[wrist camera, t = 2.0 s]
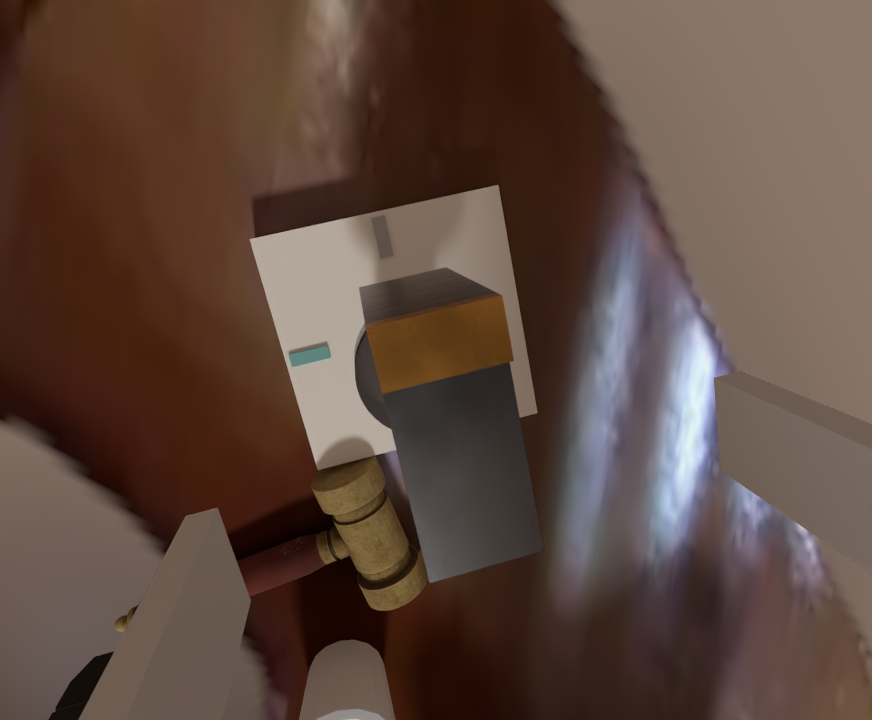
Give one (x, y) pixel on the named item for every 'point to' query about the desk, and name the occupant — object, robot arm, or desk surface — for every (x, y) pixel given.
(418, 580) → the gavel
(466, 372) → the grey block orange cap
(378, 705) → the shot glass
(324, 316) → the base
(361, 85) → the desk surface
